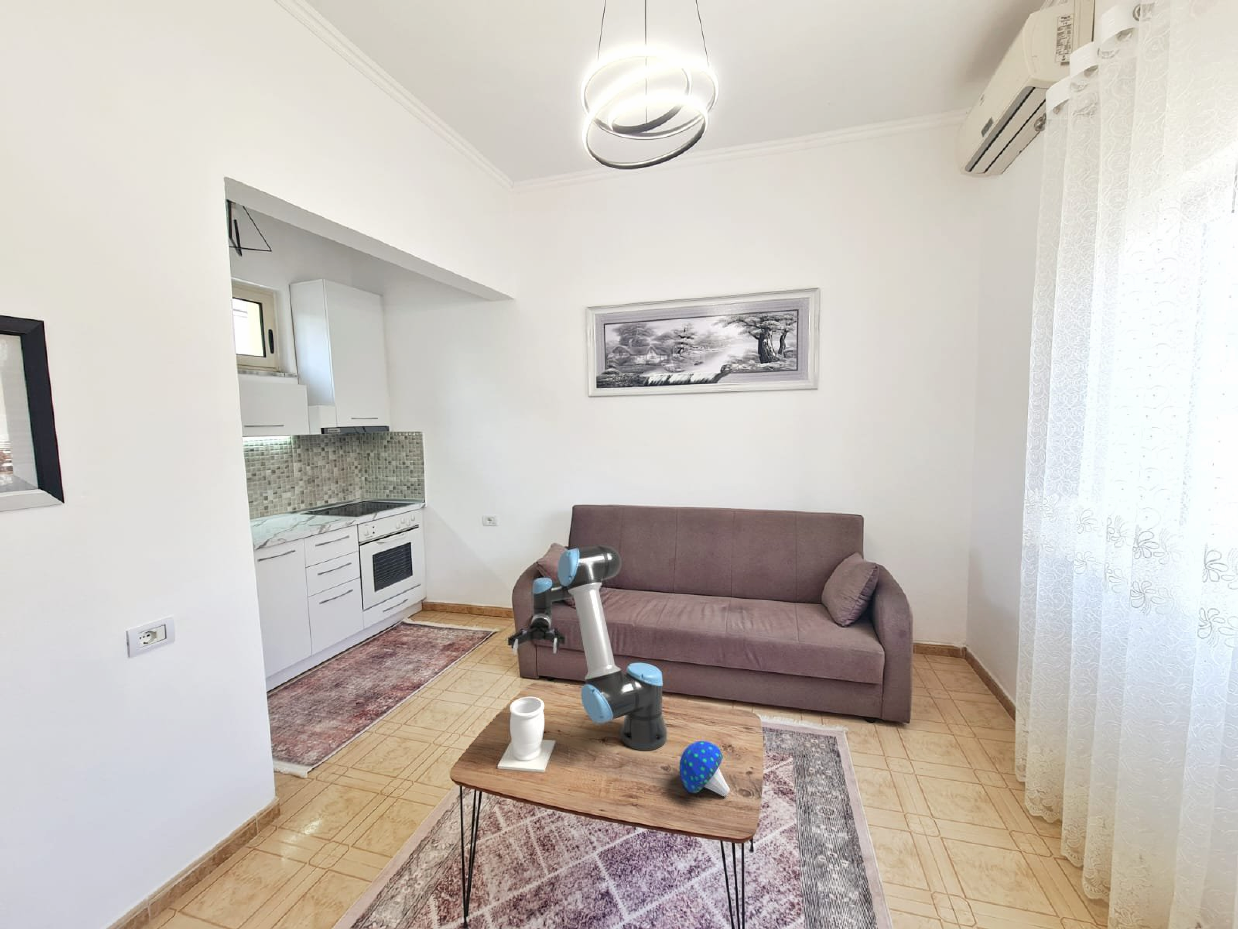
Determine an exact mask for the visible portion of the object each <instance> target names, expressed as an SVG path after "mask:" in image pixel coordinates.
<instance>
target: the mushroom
mask: <svg viewBox="0 0 1238 929" xmlns="http://www.w3.org/2000/svg"><path fill="white" fill-rule="evenodd" d="M721 751H722V750H721V749H720V747H719V746H717V745H716V744H714V743H712V742H710V741H706V740H699V741H694V742H693V743H691V744H689V745H688V746H687V747H686V748H685V749H684V751H683V752H682V754H681V756H680V759H679V774H680V779H681V782H682V783H683V786H684V787H685V789H686V790H687V791H688V792H689V793H692V794H696V793H699V792H700V791H701V790H702V789H703V788H706V789H708V790H711V791H712V792H715V793H716V794H718V795H719V796H722V797H723V796H724V797H723V798H726V797H727V795H728V794H729V792H730V790H731V789H730V787H729V786H728V784H727V781H726V780H725V778H724V776H723V773H722V772H721V770H720V765H721V764H722V760H723V758H724V756H723V754H722V752H721Z"/></svg>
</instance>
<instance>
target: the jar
mask: <svg viewBox="0 0 1238 929" xmlns="http://www.w3.org/2000/svg"><path fill="white" fill-rule="evenodd" d="M544 709H545V703H544V701H543V700H542V699H541V698H538V697H535V696H525V697H520V698H518V699H516V700H514V701H513V702H512V703H511V704H510V706H509V711H510V720H509V731H510V737H511V740H512V744H513V747H514V756H515V758H517V759H518V760H522V761H527V760H532V759H534V758H536V757H537V756H538V755H539V754H540V752H541V747H540V745H541V742H542V740H543V736H544V731H545V730H544V729H545V714H544Z"/></svg>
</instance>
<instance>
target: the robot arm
mask: <svg viewBox="0 0 1238 929" xmlns="http://www.w3.org/2000/svg"><path fill="white" fill-rule="evenodd" d="M557 565H558V566H557V576H558V580H559V581H552V579H551V578H549V577H540V578H539V577H538V578H536V579H535V580H533V583H532V584H533V585H532V620H531V623H530V626H529V629H528V630H525V629H524V628H520V629H519V631H517V632H516V633H514V634H512V635H511V636H509V637H508V638H507V646H510V647H511V649H513V650H512V655H516V654H517V652H518V649H519V645H522V644H523V643H525V642H531V641H534V640H538V641H542V640H543V641H545V642H547V641H548V642H550V643H553V646H552V648H553V650H552V651H553V654H556V653H557V648H560V647H561V645H566V636H565V635H564V634H562V633H561V632H560V631H559V630H558V628H556V627H555V628H553V629H552V630H551V625H552V620H553V611H552V610H553V602H556V601H562V600H567V599H574V604H575V610H576V614H577V619H578V624H579V628H580V630H579V631H580V634H581V641H582V645H583V646H582V647H583V649H584V654H585V655H584V656H585V659H586V665H587V666H586V667H587V671H588V672H587V674H586V675H585V677H584V680H585V684H584V685H583V686H582V687H581V690H580V692H581V694H580V696H581V703H582V705H583V709H584V710H585V712H586V714H587V716H588V717H589V718H590V720H591V721H593V722H594V723H596V724H604V723H607V722H612V721H614V720H615V719H616V720H617V719H618V718H621V717H624V719H623V722H622V725H621V728H620V738H621V741H622V742H623V743H624V745H626V746H627V747H629V748H631V749H634V750H637V751H643V752H644V751H655V750H656V749H659V748H661V747H663V746H664V745H665V744H666V742H667V740H668V730H667V726H666V723H665V720H664V716H663V686H664V683H663V673H662V671H661V670H660V669H659V668H658V667H656V666H654V665H652V664H649V663H644V662H633V663H630V664H629V665H628V666H627V668H626V670H625V671H626V673H622V669H621V668H620V667H619V666H617V665H616V662H615V659H614V654H613V649H612V646H611V641H610V637H609V633H608V627H607V623H606V617H605V613H604V609H603V603H602V599H601V594H600V589H601V587H602V585H603V583H602V582H603V581H608V580H610V579H612V578H614V577H616V576H617V575H618V574H619V573H620V571H621V568H622V557H621V556H620V554H619V552H618V551H617V550H616V549H614V548H613V547H611V546H608V545H596V546H586V547H576V548H575V547H574V548H572V549H568V550H565V551H563V552H562V554H560V557H559V560H558V563H557Z"/></svg>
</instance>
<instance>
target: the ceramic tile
mask: <svg viewBox="0 0 1238 929" xmlns="http://www.w3.org/2000/svg"><path fill="white" fill-rule="evenodd" d="M555 745H556V740H554V739H553V740H552V739H551V740H549V739H542V742H541V745H540V747H541V752H540V754H539V755H538V756H537V757H536V758H534V759H532V760H527V761H522V760H518V759H517V758H515V756H514V747H513V744H512V739H511V740H510V742H509V744H508V746H507V748H506V750H505V752H504V753H503V755H502V757H501V759H500V761H499V762H498V764H497V769H499V770H511V771H524V772H533V773H534V772H535V773H545V771H546V767H547V765H548V764H549V761H550V757H551V755H552V753H553V750H554V748H555Z"/></svg>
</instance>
